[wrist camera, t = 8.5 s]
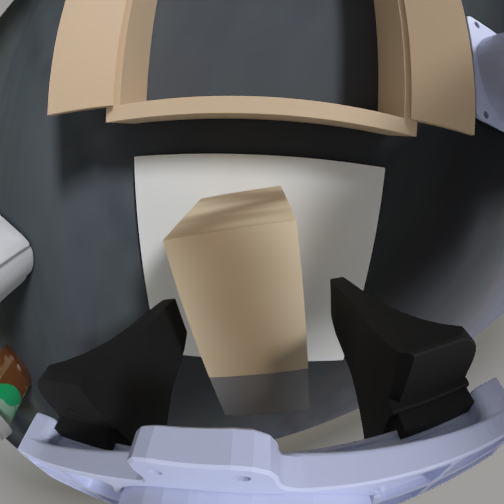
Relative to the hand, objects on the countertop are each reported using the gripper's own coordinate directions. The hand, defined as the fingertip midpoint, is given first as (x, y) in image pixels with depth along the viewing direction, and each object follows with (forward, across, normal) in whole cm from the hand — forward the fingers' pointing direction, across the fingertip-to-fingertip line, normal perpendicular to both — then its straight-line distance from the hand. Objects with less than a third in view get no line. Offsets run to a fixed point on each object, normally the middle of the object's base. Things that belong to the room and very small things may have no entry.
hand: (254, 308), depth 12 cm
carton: (+3, -3, -15) cm, 15 cm away
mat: (+3, 0, 0) cm, 3 cm away
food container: (+4, +32, +11) cm, 34 cm away
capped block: (+3, 0, 0) cm, 3 cm away
